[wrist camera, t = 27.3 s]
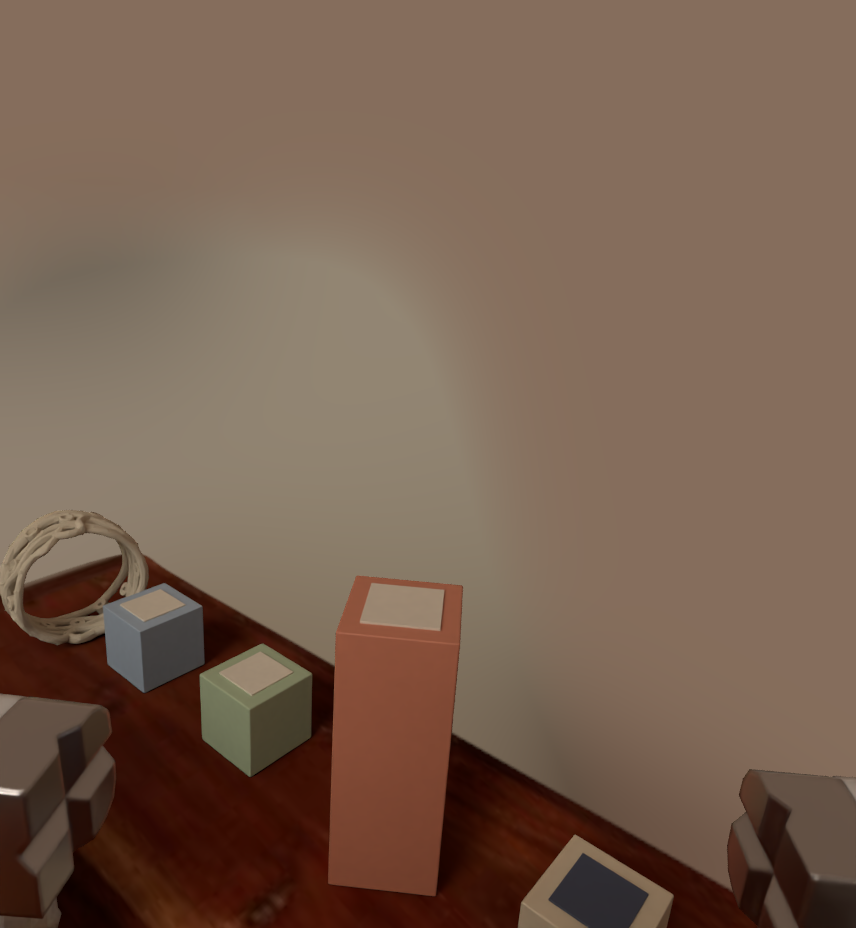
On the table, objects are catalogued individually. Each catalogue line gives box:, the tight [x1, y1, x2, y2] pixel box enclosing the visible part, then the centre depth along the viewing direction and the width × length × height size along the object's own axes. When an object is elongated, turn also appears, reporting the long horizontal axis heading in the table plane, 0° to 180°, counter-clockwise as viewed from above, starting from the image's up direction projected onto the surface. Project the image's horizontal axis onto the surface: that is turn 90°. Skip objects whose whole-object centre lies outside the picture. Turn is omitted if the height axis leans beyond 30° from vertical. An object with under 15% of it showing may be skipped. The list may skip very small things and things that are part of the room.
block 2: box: [200, 644, 312, 777], centre depth 37 cm, size 4×4×4 cm
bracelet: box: [0, 510, 149, 645], centre depth 44 cm, size 4×8×8 cm, turn 134°
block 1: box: [103, 583, 205, 693], centre depth 42 cm, size 4×4×4 cm
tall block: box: [328, 576, 463, 896], centre depth 30 cm, size 4×4×12 cm
